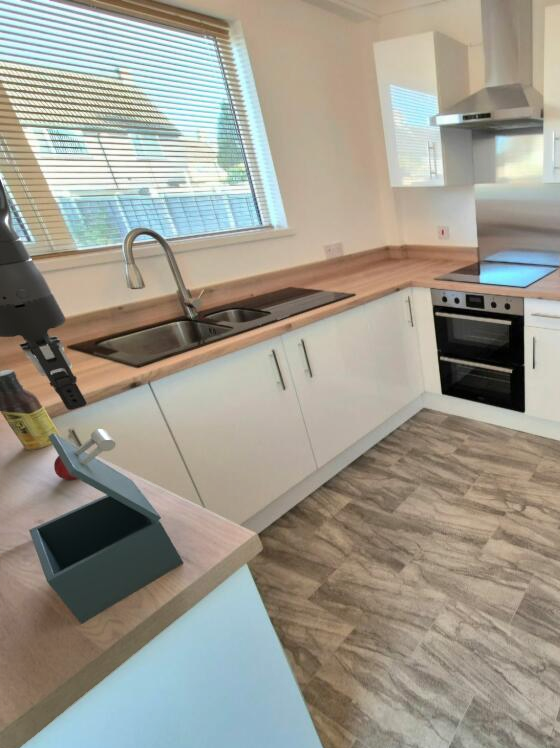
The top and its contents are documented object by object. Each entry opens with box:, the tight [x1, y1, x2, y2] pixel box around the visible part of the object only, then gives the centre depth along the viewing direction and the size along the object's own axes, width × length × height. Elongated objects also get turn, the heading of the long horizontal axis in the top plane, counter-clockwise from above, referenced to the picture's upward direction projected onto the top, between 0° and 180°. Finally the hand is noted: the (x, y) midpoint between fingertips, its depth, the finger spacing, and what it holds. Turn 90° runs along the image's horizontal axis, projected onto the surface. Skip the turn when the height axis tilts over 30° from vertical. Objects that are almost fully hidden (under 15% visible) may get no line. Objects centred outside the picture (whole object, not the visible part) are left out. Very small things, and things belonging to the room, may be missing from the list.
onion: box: [53, 455, 78, 481], centre depth 88 cm, size 6×6×8 cm
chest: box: [28, 494, 184, 625], centre depth 67 cm, size 13×16×9 cm
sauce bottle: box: [0, 369, 62, 451], centre depth 97 cm, size 7×6×20 cm
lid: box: [48, 428, 162, 522], centre depth 65 cm, size 14×16×5 cm
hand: (72, 399), depth 66 cm, fingers open, 8 cm apart
